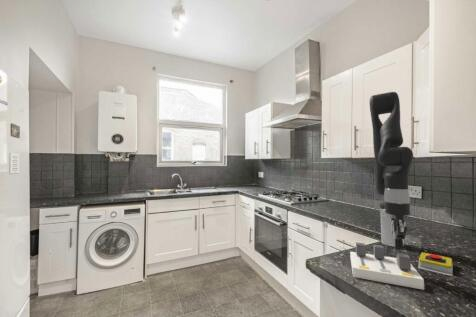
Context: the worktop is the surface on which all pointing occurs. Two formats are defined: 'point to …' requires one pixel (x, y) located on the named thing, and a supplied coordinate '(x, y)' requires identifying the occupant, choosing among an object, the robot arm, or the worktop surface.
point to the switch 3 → (403, 261)
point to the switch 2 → (378, 251)
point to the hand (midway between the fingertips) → (398, 249)
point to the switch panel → (384, 271)
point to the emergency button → (436, 264)
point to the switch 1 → (360, 249)
